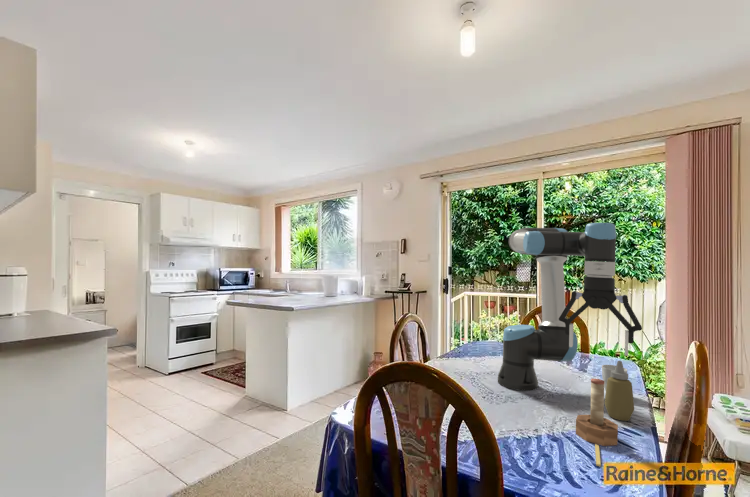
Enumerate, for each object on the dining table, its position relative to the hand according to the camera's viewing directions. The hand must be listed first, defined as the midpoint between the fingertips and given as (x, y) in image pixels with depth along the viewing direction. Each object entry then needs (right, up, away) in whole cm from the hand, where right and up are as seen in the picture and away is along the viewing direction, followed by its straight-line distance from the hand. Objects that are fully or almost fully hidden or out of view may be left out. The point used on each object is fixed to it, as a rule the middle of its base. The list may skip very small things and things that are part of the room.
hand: (597, 350), depth 105 cm
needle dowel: (-1, -24, -1) cm, 24 cm away
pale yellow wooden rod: (-7, -24, -11) cm, 27 cm away
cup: (+27, -26, +34) cm, 50 cm away
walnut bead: (-1, -24, -1) cm, 24 cm away
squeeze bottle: (+15, -25, +13) cm, 32 cm away
